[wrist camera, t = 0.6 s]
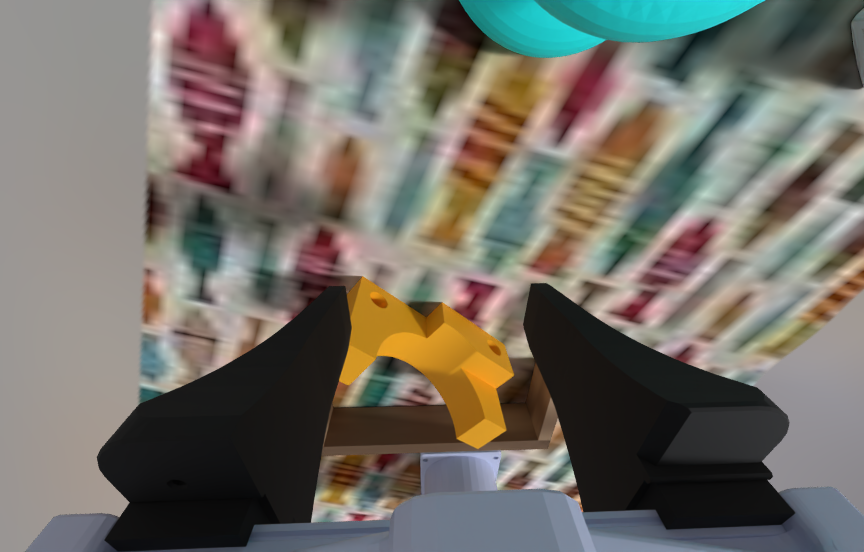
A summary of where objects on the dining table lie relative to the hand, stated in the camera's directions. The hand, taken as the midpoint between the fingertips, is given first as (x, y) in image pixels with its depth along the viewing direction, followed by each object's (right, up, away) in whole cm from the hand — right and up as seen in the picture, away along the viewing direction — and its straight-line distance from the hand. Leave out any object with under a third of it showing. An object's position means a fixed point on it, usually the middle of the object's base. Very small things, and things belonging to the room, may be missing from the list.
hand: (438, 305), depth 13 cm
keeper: (0, -9, +15) cm, 17 cm away
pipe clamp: (-1, -2, +12) cm, 12 cm away
